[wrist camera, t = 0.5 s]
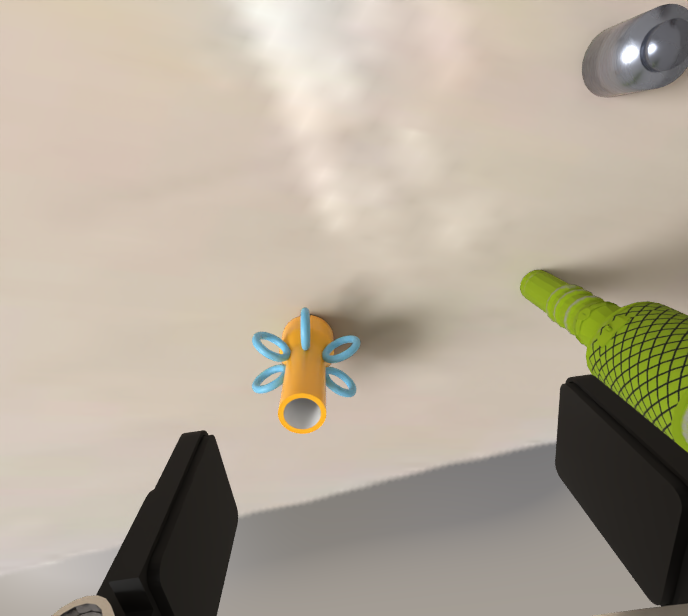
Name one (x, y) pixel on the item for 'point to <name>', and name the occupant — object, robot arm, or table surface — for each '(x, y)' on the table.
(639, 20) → the hub
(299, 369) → the cylinder
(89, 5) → the table surface
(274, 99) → the table surface
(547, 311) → the microphone
